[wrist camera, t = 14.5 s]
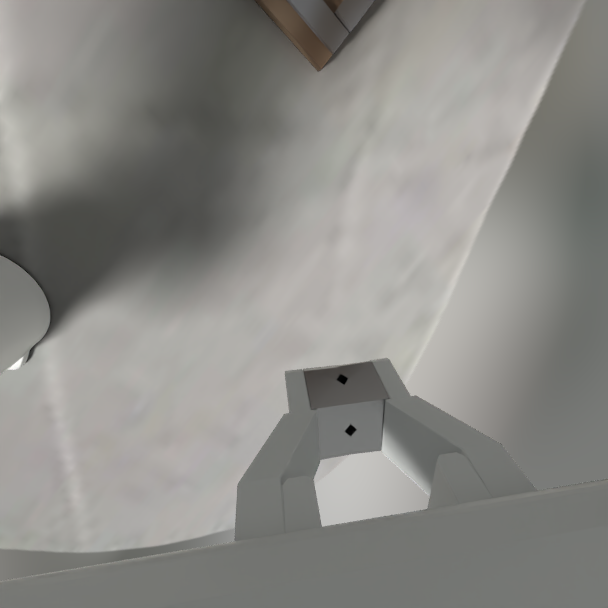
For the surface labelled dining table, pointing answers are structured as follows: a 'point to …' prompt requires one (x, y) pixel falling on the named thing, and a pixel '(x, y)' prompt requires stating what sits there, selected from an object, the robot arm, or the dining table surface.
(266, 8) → the fader console
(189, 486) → the dining table surface
